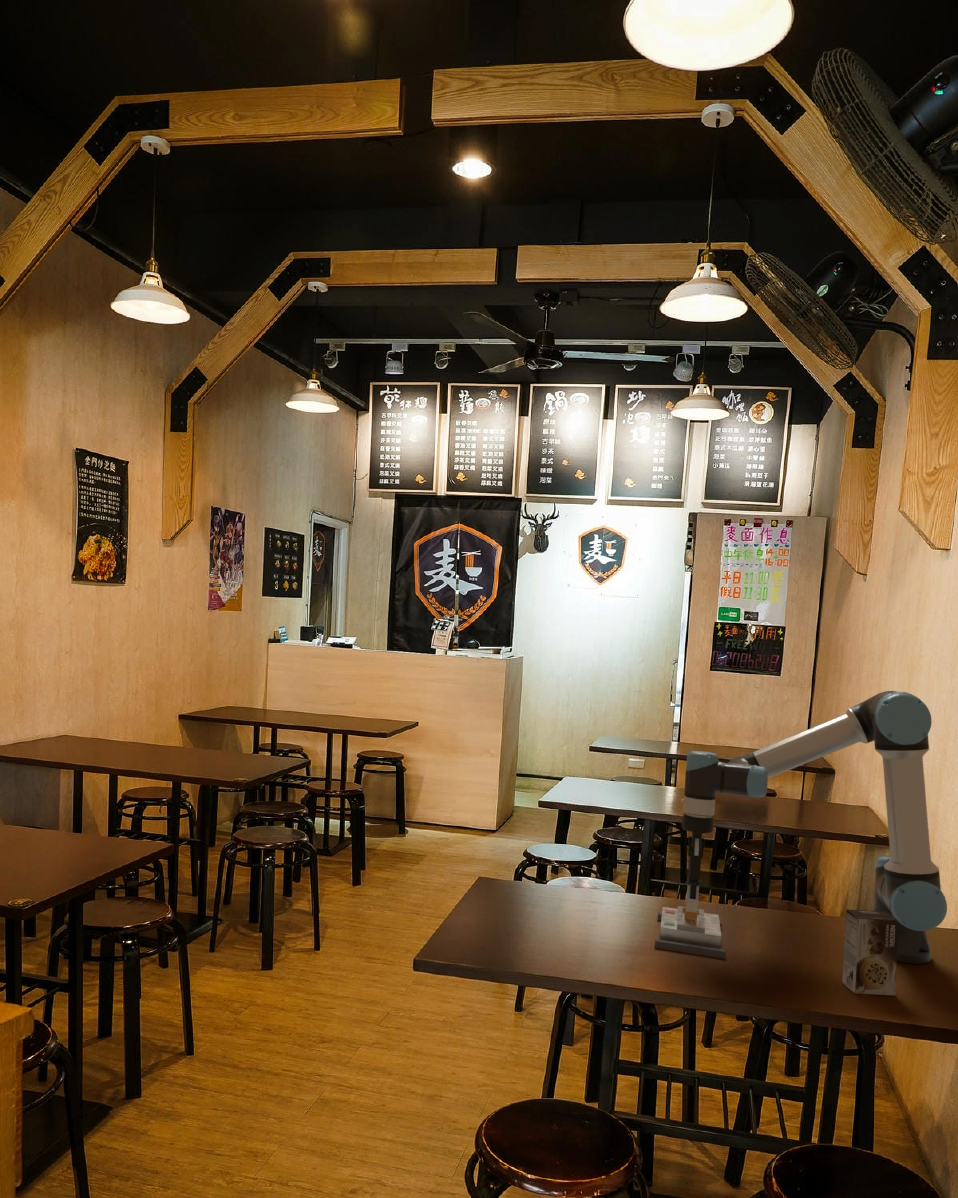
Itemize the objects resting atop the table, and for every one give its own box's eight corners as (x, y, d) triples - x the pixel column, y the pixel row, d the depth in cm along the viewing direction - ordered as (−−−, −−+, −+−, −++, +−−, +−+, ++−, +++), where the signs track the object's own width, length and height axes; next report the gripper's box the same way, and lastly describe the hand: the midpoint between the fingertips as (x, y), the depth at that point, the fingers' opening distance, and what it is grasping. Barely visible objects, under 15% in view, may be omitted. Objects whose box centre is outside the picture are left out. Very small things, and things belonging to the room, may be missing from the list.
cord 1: (721, 928, 229) (721, 922, 229) (721, 930, 227) (721, 923, 227) (657, 919, 233) (658, 912, 233) (657, 920, 231) (657, 914, 231)
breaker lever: (696, 917, 222) (698, 897, 222) (696, 919, 220) (698, 899, 220) (684, 915, 223) (685, 895, 223) (684, 917, 221) (685, 897, 221)
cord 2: (724, 956, 207) (725, 949, 207) (725, 959, 206) (725, 952, 206) (654, 945, 211) (655, 939, 211) (654, 948, 209) (655, 941, 209)
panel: (717, 931, 226) (718, 911, 227) (720, 953, 209) (721, 932, 209) (661, 922, 230) (662, 903, 230) (659, 944, 212) (660, 923, 212)
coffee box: (881, 985, 197) (885, 911, 198) (896, 997, 191) (900, 920, 191) (840, 982, 197) (845, 908, 197) (854, 994, 190) (859, 917, 191)
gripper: (682, 808, 228) (676, 902, 227) (682, 817, 215) (675, 916, 214) (712, 812, 226) (706, 906, 225) (714, 821, 214) (708, 921, 213)
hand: (691, 911), depth 220 cm, fingers closed
